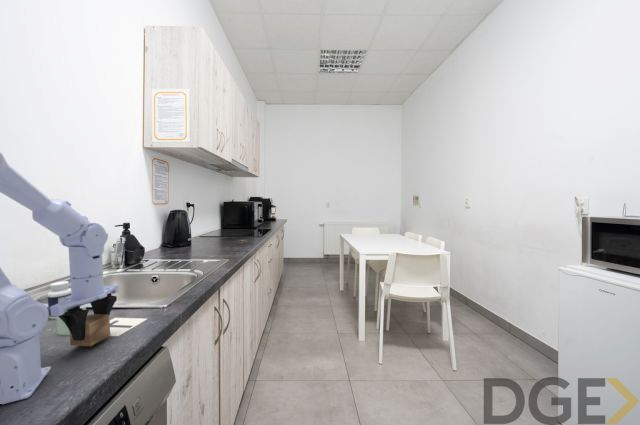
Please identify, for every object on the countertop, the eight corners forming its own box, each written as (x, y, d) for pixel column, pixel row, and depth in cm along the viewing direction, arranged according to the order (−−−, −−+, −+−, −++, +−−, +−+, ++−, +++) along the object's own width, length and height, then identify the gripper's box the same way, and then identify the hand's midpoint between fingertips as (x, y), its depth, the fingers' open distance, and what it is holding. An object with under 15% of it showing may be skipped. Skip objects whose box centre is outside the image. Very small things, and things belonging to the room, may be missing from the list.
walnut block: (90, 346, 61) (89, 324, 61) (70, 345, 62) (69, 323, 61) (110, 335, 66) (109, 314, 66) (91, 334, 66) (90, 313, 66)
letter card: (117, 337, 67) (117, 336, 67) (81, 336, 69) (81, 334, 69) (147, 319, 77) (147, 318, 77) (115, 318, 78) (115, 317, 78)
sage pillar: (72, 336, 69) (70, 312, 68) (57, 335, 69) (56, 312, 69) (87, 328, 73) (86, 306, 72) (73, 328, 73) (72, 306, 73)
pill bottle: (45, 317, 80) (43, 284, 80) (69, 310, 85) (67, 279, 85) (53, 320, 78) (51, 286, 77) (77, 313, 83) (75, 281, 82)
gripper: (70, 285, 55) (74, 351, 56) (128, 267, 70) (131, 320, 70) (39, 284, 56) (44, 350, 57) (103, 267, 71) (106, 319, 71)
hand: (90, 333), depth 64 cm, fingers closed on walnut block, 5 cm apart
